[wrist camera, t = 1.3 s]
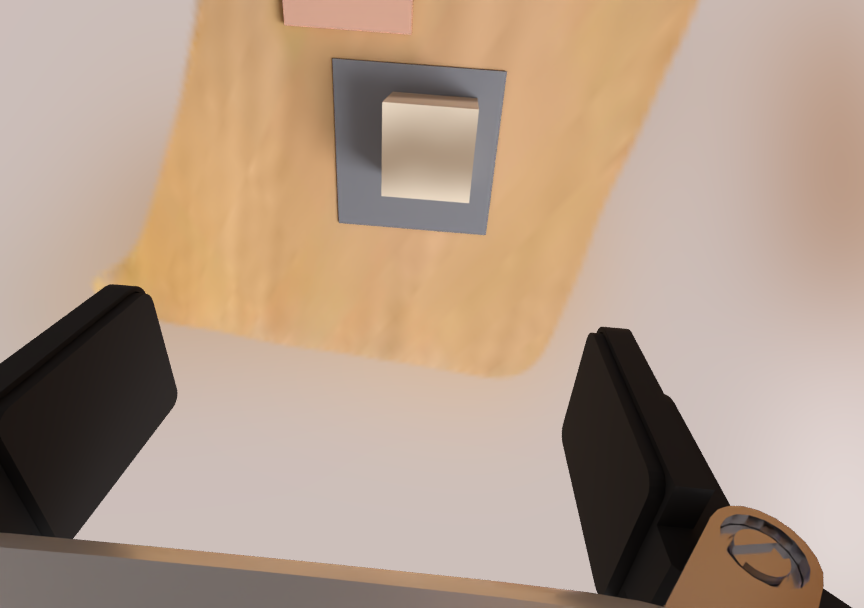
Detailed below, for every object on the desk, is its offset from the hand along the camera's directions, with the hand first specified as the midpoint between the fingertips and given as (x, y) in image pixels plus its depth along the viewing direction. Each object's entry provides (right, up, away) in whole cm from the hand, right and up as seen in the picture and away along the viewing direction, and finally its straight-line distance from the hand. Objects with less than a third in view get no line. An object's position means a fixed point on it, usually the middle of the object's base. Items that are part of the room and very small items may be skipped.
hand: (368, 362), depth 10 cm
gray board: (0, +11, +20) cm, 22 cm away
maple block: (+1, +11, +19) cm, 22 cm away
